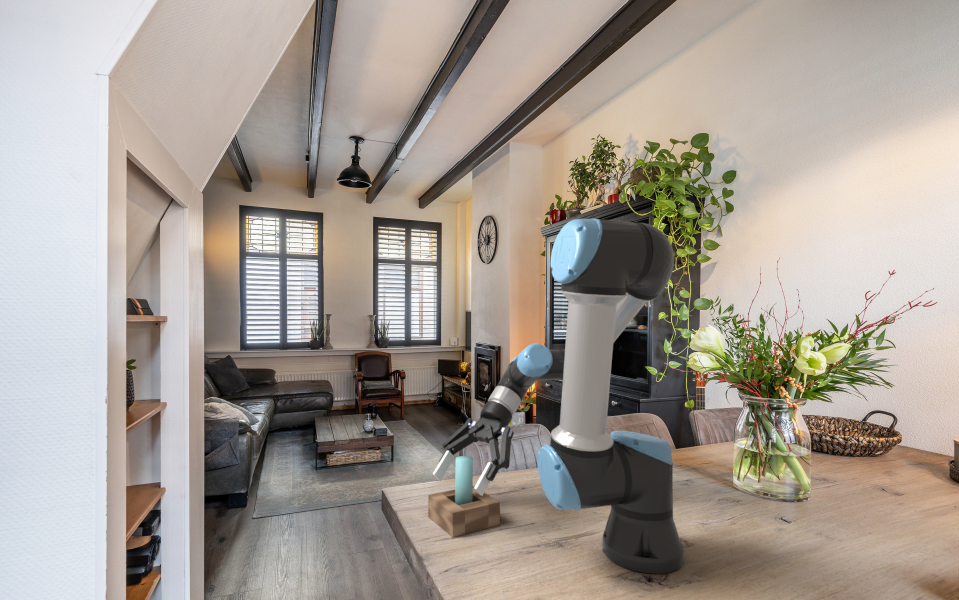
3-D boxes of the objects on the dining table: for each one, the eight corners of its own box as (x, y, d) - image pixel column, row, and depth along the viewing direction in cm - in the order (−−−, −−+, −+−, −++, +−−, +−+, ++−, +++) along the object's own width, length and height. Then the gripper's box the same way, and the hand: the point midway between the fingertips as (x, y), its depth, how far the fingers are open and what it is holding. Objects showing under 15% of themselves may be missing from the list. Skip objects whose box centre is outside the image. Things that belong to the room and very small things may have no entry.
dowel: (475, 521, 105) (476, 459, 105) (460, 525, 102) (460, 461, 103) (466, 515, 108) (467, 455, 109) (451, 519, 106) (452, 457, 107)
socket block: (499, 524, 103) (499, 501, 103) (452, 537, 97) (452, 513, 97) (472, 506, 113) (472, 485, 114) (428, 516, 107) (428, 495, 107)
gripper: (547, 425, 109) (506, 508, 97) (471, 411, 126) (429, 480, 114) (533, 405, 105) (489, 489, 94) (458, 394, 122) (412, 463, 111)
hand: (456, 484), depth 104 cm, fingers open, 13 cm apart
